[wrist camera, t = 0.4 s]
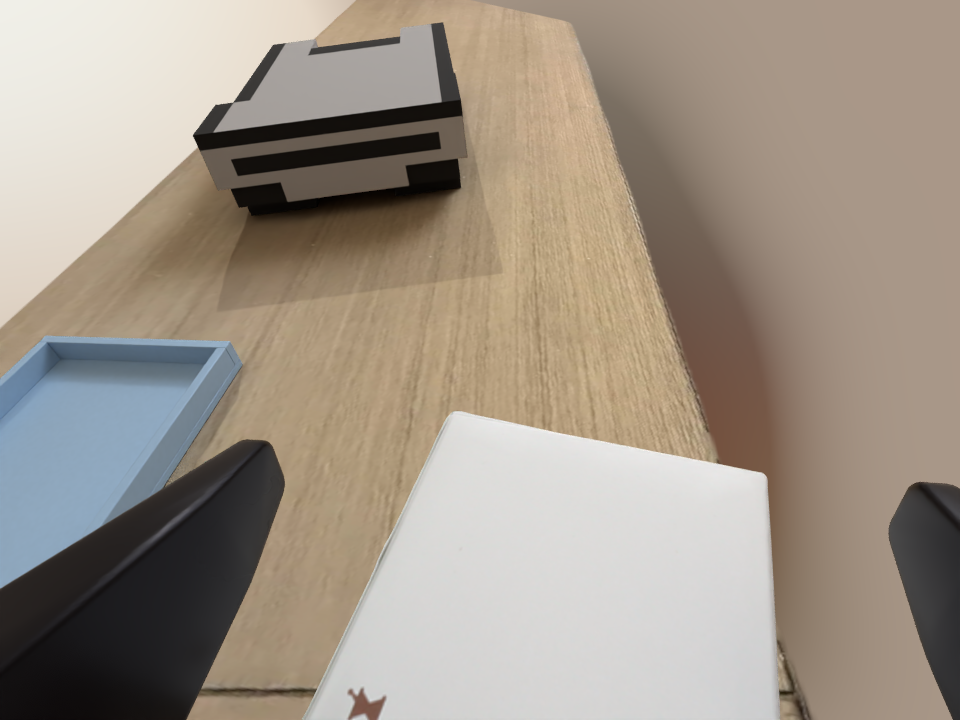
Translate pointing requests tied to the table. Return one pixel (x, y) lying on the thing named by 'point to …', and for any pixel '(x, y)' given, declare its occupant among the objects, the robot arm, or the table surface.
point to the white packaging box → (564, 588)
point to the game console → (339, 123)
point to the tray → (96, 433)
